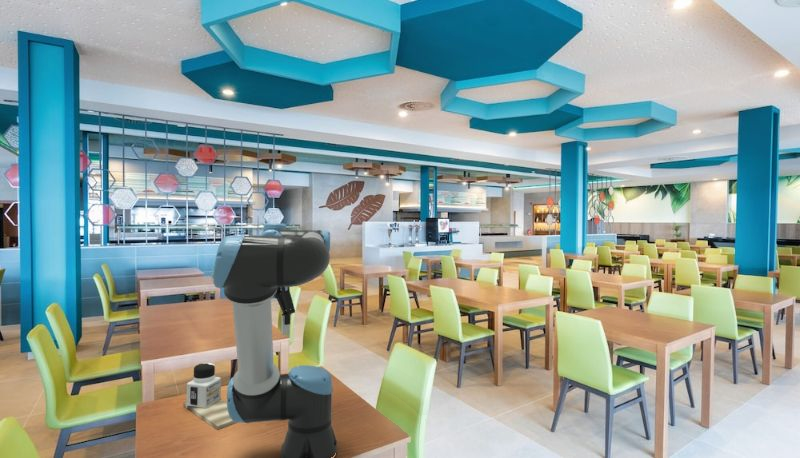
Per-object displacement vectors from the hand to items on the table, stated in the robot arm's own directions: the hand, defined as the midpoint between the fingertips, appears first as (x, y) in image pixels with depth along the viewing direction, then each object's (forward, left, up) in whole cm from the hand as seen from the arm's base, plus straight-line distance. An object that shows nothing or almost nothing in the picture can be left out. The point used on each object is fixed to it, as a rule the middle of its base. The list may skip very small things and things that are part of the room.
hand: (273, 330), depth 141 cm
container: (+18, +15, -25) cm, 34 cm away
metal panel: (+11, +15, -26) cm, 32 cm away
